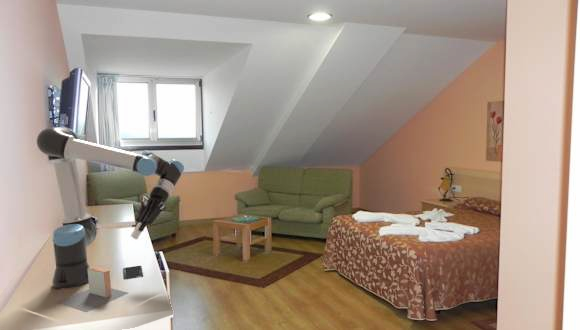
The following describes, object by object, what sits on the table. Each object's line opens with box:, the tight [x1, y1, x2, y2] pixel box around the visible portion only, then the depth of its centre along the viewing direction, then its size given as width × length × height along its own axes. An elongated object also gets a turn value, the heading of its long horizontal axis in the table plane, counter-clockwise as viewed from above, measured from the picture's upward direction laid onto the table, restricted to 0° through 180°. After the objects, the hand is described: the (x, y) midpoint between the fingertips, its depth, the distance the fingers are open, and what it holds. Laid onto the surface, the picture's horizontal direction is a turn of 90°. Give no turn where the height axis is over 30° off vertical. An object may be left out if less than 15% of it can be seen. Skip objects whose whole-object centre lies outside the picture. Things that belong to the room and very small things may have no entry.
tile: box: [87, 266, 112, 298], centre depth 162 cm, size 10×2×10 cm, turn 60°
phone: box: [122, 265, 144, 280], centre depth 185 cm, size 8×1×15 cm
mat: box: [55, 287, 129, 313], centre depth 160 cm, size 18×18×1 cm
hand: (133, 237), depth 175 cm, fingers closed
